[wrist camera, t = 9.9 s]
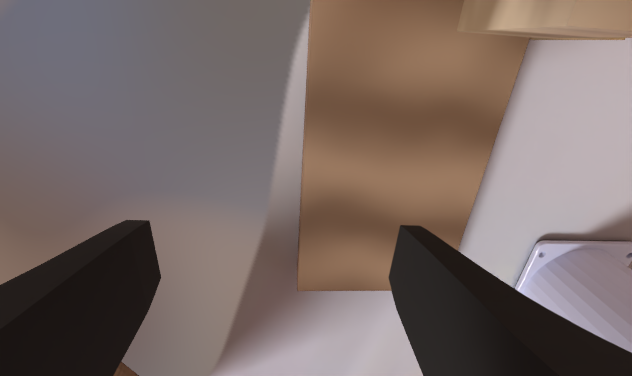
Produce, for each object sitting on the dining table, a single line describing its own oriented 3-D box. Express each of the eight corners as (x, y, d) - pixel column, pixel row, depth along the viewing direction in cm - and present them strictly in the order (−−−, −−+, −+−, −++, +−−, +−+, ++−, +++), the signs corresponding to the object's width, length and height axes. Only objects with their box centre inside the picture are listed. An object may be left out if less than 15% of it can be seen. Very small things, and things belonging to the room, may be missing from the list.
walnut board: (432, 270, 22) (444, 290, 20) (297, 269, 21) (297, 290, 20) (555, -137, 13) (599, -166, 11) (318, -169, 12) (323, -207, 10)
